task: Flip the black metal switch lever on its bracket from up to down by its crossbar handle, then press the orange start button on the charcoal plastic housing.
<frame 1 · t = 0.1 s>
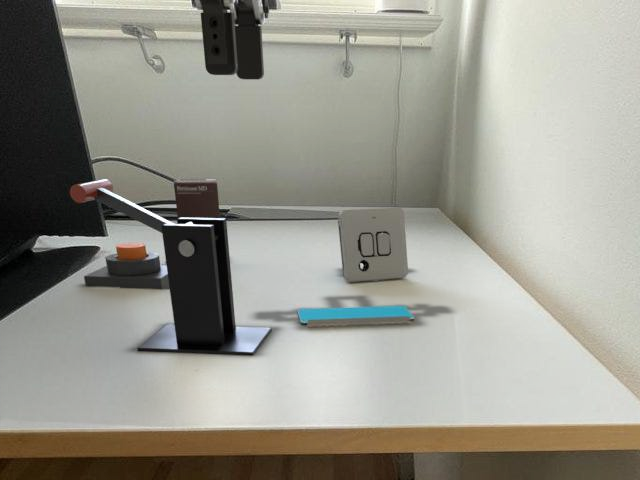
hand: (237, 77, 52), 23 cm above the table, tool pointing down, fingers open, 8 cm apart
blue book: (352, 321, 74), on the table
bracket: (208, 349, 65), on the table
box: (204, 269, 98), on the table
button box: (137, 287, 87), on the table
lever: (148, 218, 59), point 12 cm above the table, hinge at 25.0°
electrical switch: (369, 278, 93), on the table
button: (131, 252, 85), point 4 cm above the table, slide at 0.1 cm
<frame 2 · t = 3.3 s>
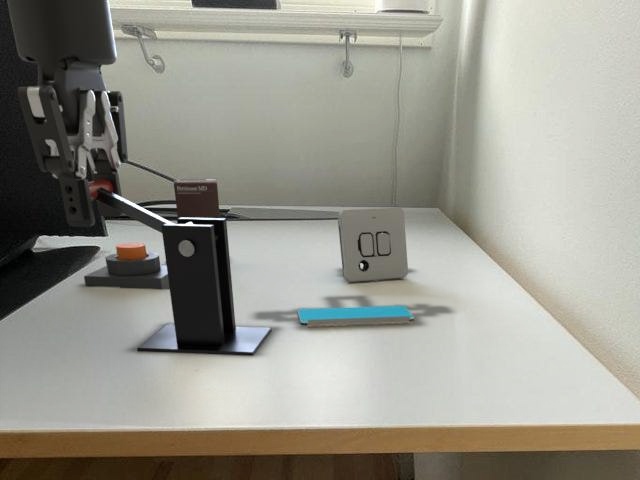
hand: (97, 220, 60), 12 cm above the table, tool pointing down, fingers closed on lever, 5 cm apart
lever: (148, 218, 59), point 12 cm above the table, hinge at 25.0°, touching gripper
everything else where it was.
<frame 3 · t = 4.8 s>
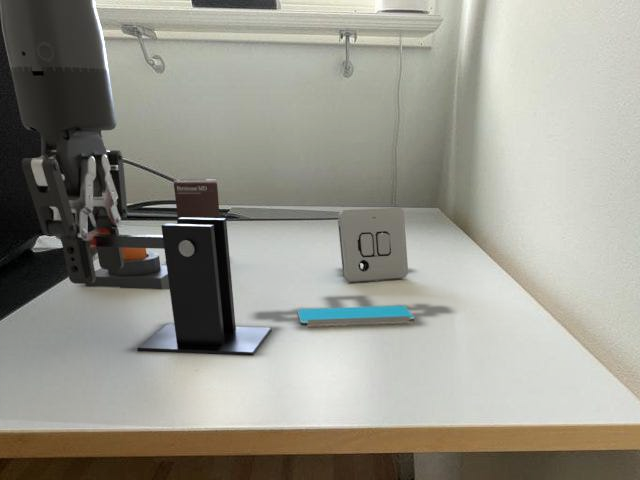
hand: (98, 274, 62), 7 cm above the table, tool pointing down, fingers closed on lever, 5 cm apart
lever: (147, 241, 60), point 10 cm above the table, hinge at -0.2°, touching gripper
everything else where it was.
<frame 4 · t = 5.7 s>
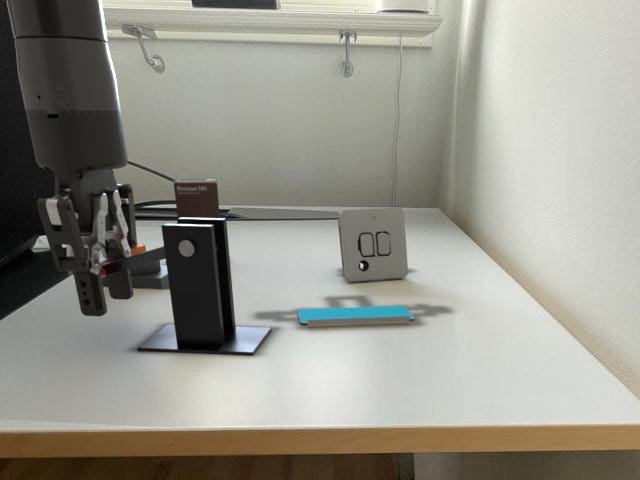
hand: (108, 305, 64), 4 cm above the table, tool pointing down, fingers closed on lever, 5 cm apart
lever: (151, 256, 61), point 9 cm above the table, hinge at -16.1°, touching gripper
everything else where it was.
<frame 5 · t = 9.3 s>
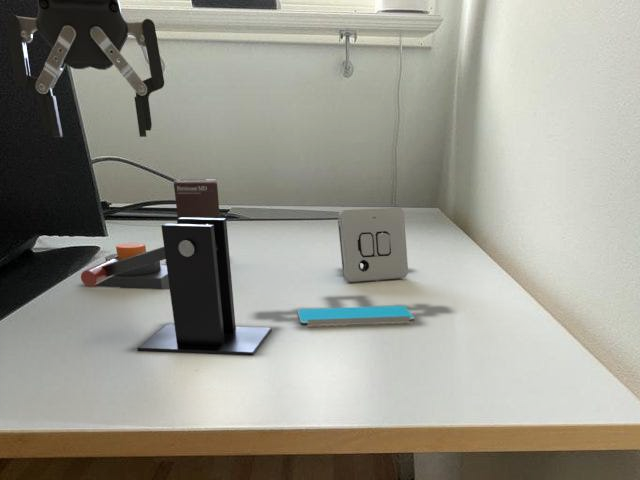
hand: (101, 136, 70), 18 cm above the table, tool pointing down, fingers open, 8 cm apart
lever: (151, 256, 61), point 9 cm above the table, hinge at -16.8°
everything else where it was.
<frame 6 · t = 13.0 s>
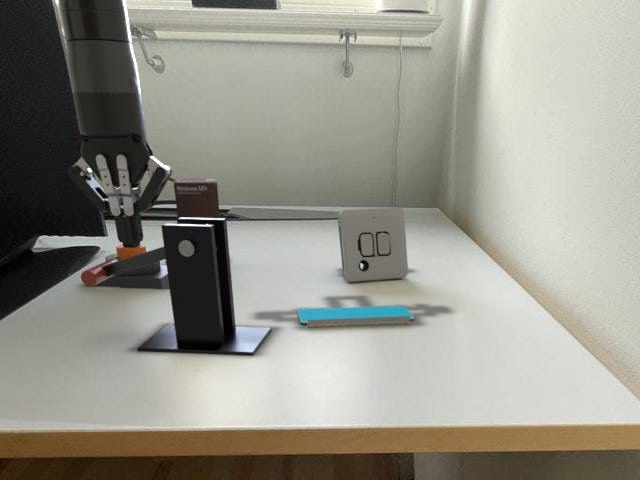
hand: (131, 246, 85), 5 cm above the table, tool pointing down, fingers closed
button: (131, 253, 85), point 4 cm above the table, slide at 0.0 cm, touching gripper
everything else where it was.
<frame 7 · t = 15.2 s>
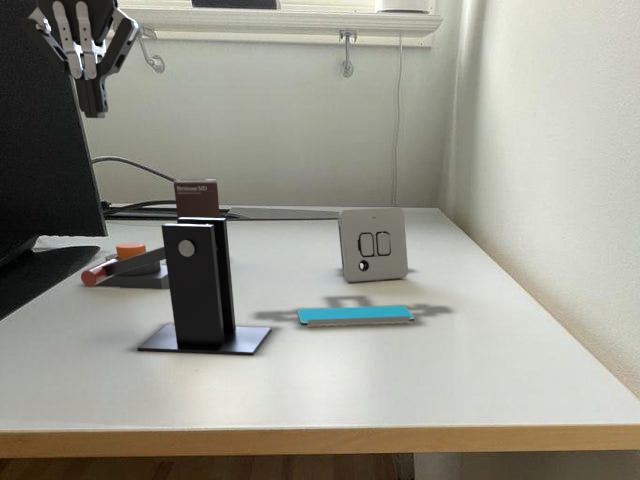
hand: (95, 117, 75), 20 cm above the table, tool pointing down, fingers closed
button: (131, 252, 85), point 4 cm above the table, slide at 0.1 cm
everything else where it was.
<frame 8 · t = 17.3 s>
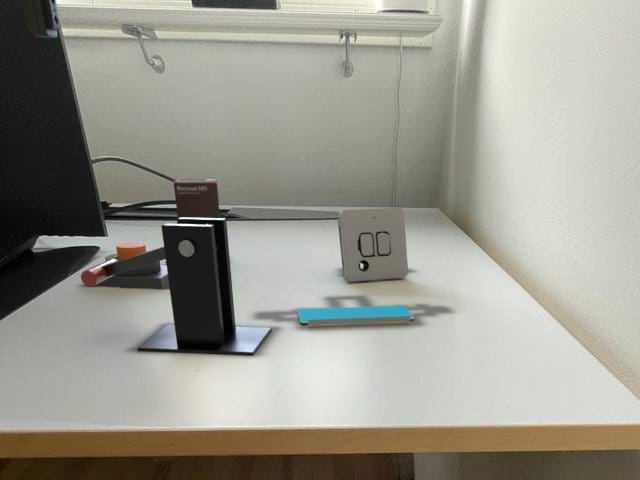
hand: (45, 36, 67), 27 cm above the table, tool pointing down, fingers closed
nothing on the table moved.
at the end: lever at -17° (first picture: +25°); button pushed in 1.1 cm at the most during the clip, back to where it started at the end; button slide at 0.1 cm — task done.
